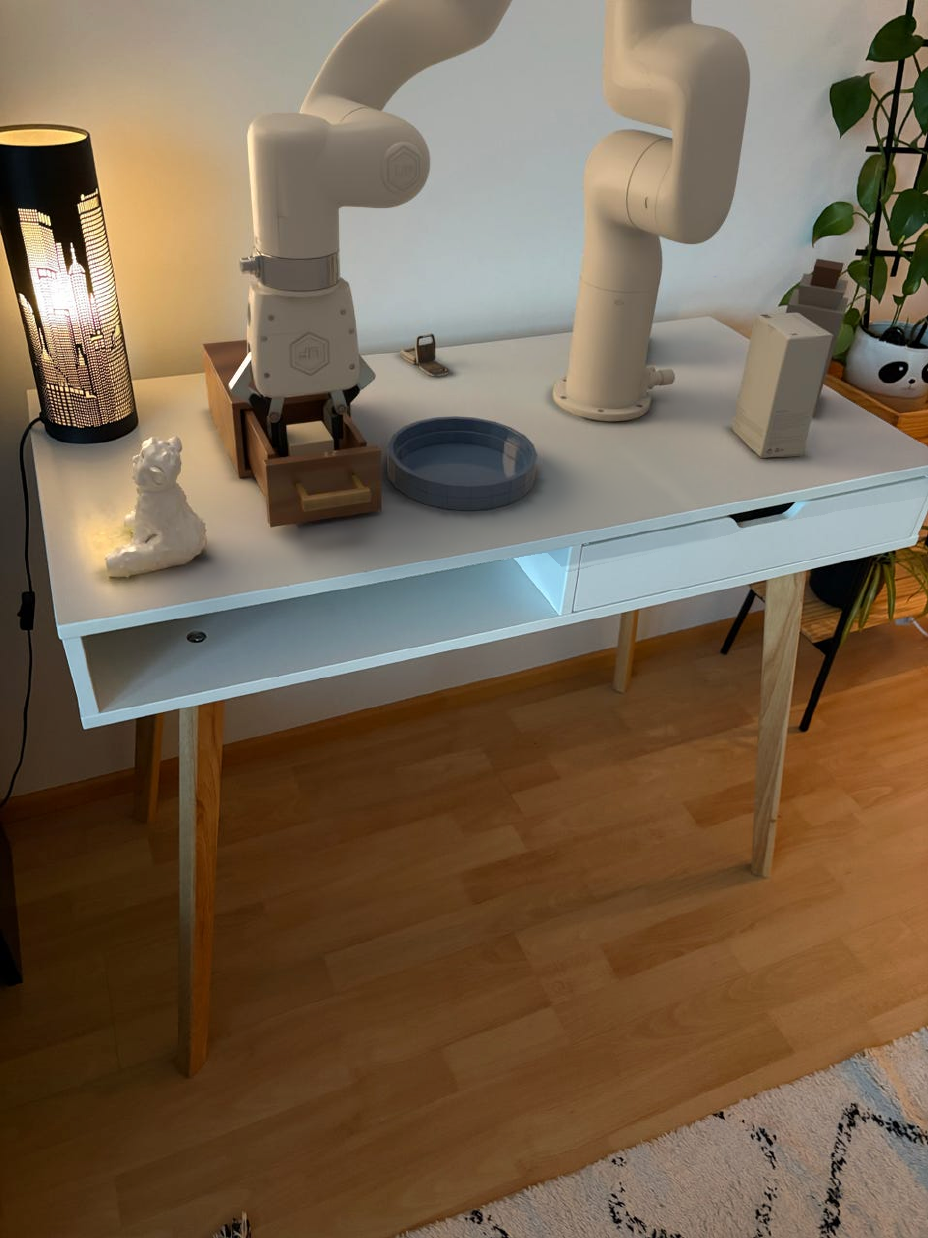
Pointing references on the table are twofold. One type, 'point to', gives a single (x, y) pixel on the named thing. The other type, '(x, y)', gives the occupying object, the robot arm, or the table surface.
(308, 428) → the block
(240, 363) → the cabinet
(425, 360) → the strap clip
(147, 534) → the sitting furry creature
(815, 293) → the perfume bottle
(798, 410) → the cosmetic box
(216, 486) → the table surface
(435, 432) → the plate
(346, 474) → the drawer
